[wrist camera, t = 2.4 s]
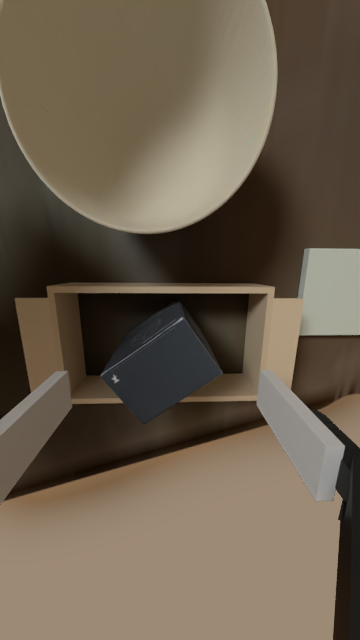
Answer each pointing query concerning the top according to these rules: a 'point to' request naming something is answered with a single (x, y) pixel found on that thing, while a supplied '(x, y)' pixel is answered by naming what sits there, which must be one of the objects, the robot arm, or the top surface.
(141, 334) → the box
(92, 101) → the bowl
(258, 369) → the carton
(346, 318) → the mat
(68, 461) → the top surface
